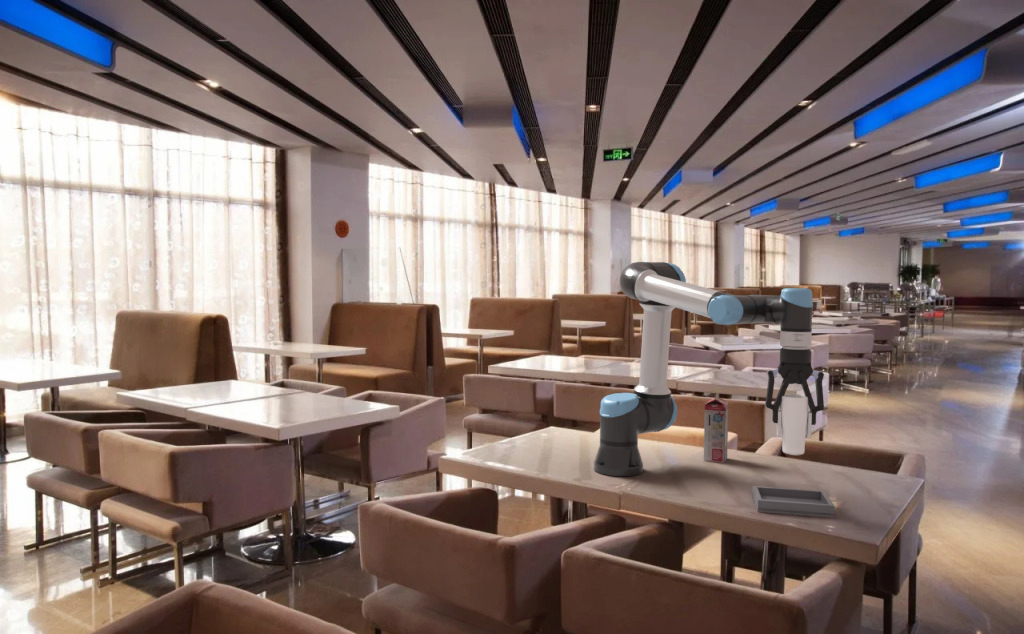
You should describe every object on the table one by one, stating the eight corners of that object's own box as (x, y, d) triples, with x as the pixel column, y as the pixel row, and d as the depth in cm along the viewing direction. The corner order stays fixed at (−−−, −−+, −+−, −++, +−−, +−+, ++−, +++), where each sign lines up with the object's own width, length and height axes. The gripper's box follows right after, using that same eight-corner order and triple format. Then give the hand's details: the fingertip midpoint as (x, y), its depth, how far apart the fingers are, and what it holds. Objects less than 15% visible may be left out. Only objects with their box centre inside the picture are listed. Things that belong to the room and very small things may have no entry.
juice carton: (727, 458, 233) (728, 392, 232) (724, 462, 227) (726, 395, 226) (706, 456, 236) (708, 391, 235) (703, 460, 230) (704, 394, 229)
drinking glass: (774, 450, 185) (775, 394, 184) (799, 449, 185) (800, 393, 185) (786, 456, 178) (787, 398, 177) (812, 456, 179) (813, 397, 178)
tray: (757, 511, 178) (758, 500, 178) (752, 496, 191) (753, 485, 191) (834, 517, 174) (834, 505, 174) (823, 502, 187) (824, 490, 187)
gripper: (757, 348, 179) (755, 437, 180) (839, 350, 175) (837, 441, 176) (754, 345, 187) (752, 431, 188) (833, 347, 182) (831, 435, 183)
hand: (793, 436), depth 182 cm, fingers closed on drinking glass, 7 cm apart
